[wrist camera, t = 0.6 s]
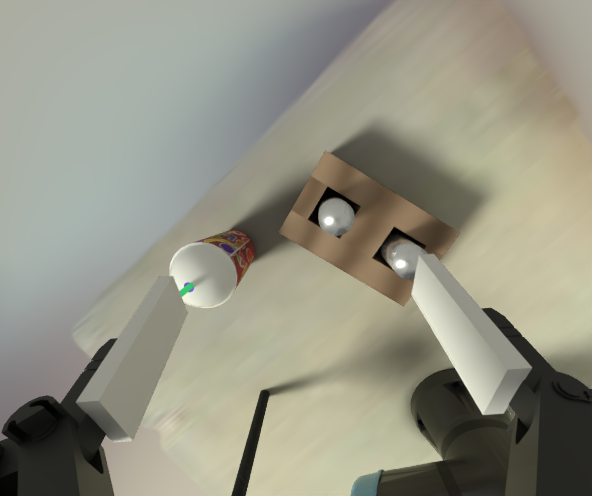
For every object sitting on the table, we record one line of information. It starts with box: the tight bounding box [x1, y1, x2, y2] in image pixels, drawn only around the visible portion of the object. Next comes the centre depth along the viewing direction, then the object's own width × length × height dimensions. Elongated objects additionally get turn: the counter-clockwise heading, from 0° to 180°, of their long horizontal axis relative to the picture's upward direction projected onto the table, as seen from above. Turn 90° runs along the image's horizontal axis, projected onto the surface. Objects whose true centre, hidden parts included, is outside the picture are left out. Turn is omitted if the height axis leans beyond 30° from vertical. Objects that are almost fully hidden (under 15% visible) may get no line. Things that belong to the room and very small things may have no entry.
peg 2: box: [379, 233, 428, 280], centre depth 34 cm, size 4×4×8 cm
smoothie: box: [169, 230, 255, 308], centre depth 36 cm, size 8×8×20 cm
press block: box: [278, 150, 460, 306], centre depth 39 cm, size 20×12×8 cm, turn 60°
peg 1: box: [318, 196, 355, 236], centre depth 34 cm, size 4×4×8 cm
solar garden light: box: [231, 390, 269, 496], centre depth 37 cm, size 12×12×30 cm
